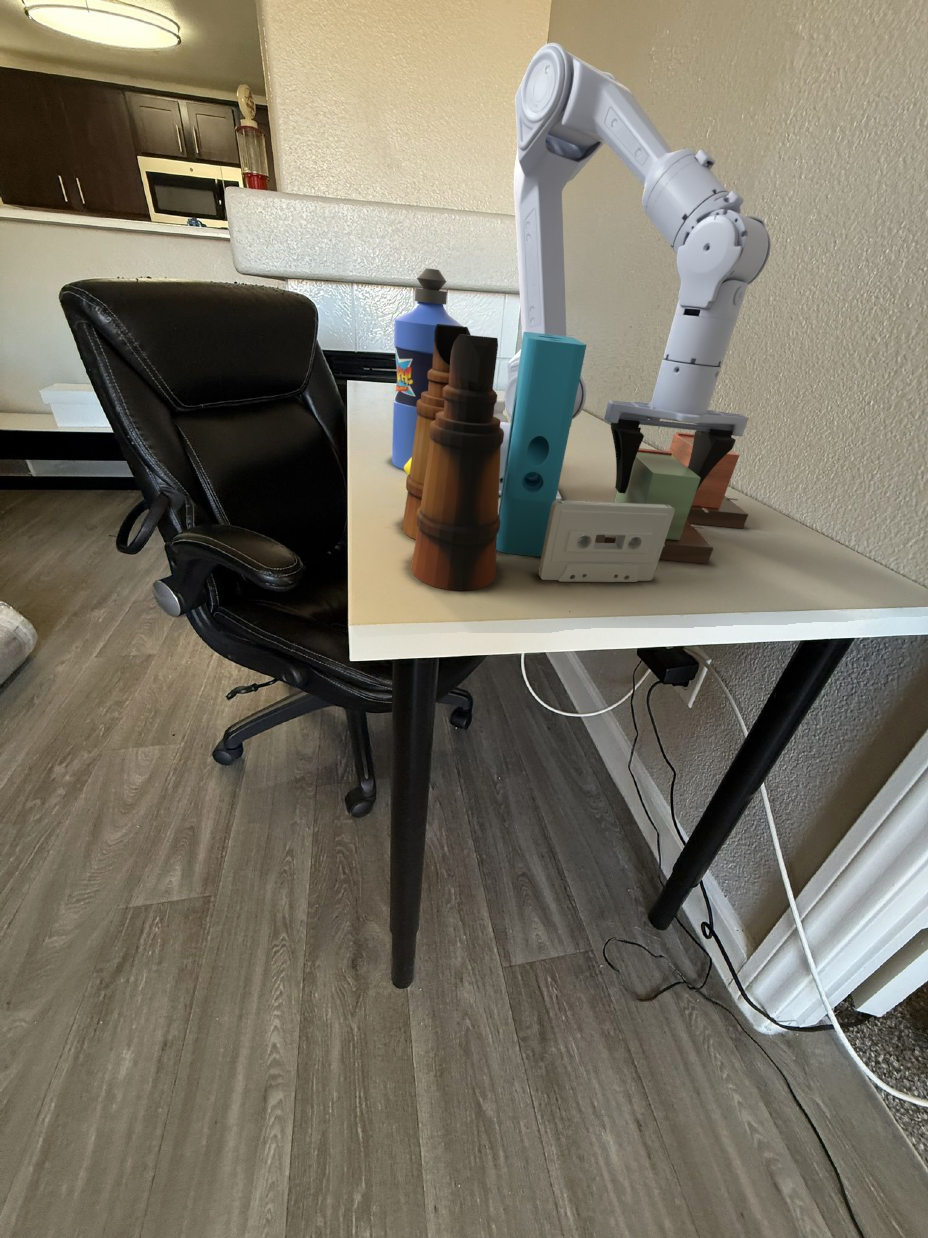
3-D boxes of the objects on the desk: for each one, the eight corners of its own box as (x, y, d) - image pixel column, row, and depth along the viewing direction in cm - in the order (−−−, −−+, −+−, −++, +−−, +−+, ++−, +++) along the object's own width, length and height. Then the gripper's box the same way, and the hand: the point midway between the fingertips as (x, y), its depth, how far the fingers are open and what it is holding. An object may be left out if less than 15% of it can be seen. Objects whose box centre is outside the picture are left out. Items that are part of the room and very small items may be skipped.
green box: (679, 540, 57) (701, 475, 53) (635, 536, 57) (654, 470, 53) (652, 509, 66) (670, 450, 62) (613, 505, 65) (628, 446, 62)
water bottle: (404, 474, 74) (412, 264, 61) (382, 456, 81) (385, 264, 68) (462, 471, 78) (481, 274, 65) (436, 454, 85) (449, 272, 72)
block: (544, 564, 53) (588, 345, 43) (495, 558, 53) (527, 338, 43) (537, 522, 63) (571, 337, 53) (497, 517, 63) (523, 331, 53)
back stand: (754, 532, 68) (761, 516, 67) (648, 521, 67) (653, 506, 66) (712, 497, 80) (717, 483, 79) (621, 488, 80) (625, 473, 78)
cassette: (541, 582, 50) (556, 505, 46) (535, 573, 51) (549, 498, 47) (655, 583, 52) (679, 509, 48) (646, 574, 53) (669, 502, 49)
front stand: (721, 569, 57) (728, 551, 55) (593, 557, 56) (597, 538, 55) (677, 521, 69) (682, 506, 67) (571, 511, 68) (575, 495, 67)
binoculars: (505, 590, 47) (544, 345, 37) (415, 591, 46) (430, 334, 35) (467, 516, 63) (486, 327, 52) (398, 514, 61) (404, 318, 50)
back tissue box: (719, 508, 69) (740, 453, 65) (682, 504, 68) (701, 448, 65) (692, 485, 77) (709, 435, 73) (659, 481, 77) (674, 431, 73)
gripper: (631, 358, 49) (598, 498, 56) (781, 375, 49) (729, 511, 56) (613, 352, 55) (585, 479, 62) (747, 366, 55) (704, 491, 62)
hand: (653, 493), depth 59 cm, fingers open, 7 cm apart
